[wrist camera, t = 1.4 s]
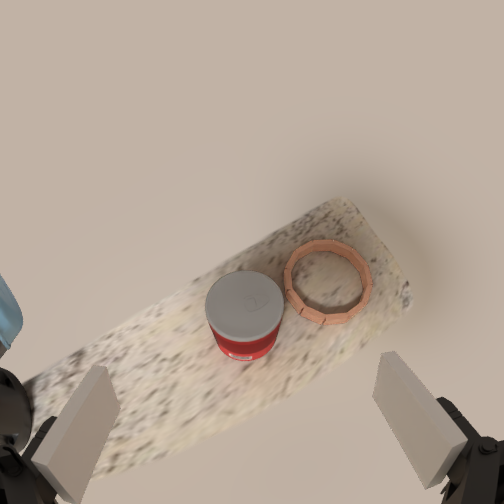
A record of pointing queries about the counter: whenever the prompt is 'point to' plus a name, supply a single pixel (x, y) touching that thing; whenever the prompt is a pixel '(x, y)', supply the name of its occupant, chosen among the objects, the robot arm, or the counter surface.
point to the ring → (338, 249)
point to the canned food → (245, 313)
